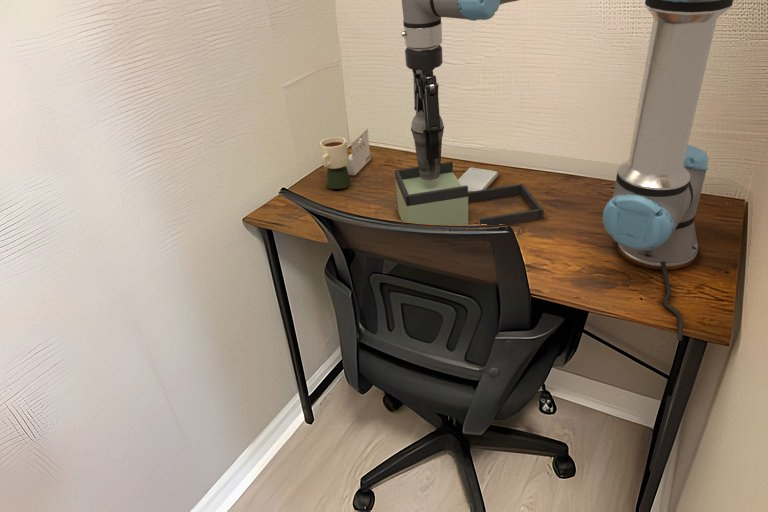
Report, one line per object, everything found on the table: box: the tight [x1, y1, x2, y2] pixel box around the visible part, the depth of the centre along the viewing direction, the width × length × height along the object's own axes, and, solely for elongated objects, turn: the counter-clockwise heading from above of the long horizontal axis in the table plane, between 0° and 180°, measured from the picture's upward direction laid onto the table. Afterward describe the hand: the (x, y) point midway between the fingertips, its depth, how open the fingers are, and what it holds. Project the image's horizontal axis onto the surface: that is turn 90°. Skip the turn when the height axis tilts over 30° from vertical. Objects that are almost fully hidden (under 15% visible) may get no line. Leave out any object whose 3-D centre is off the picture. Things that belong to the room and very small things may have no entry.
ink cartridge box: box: [346, 128, 372, 176], centre depth 168 cm, size 2×11×10 cm, turn 157°
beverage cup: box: [410, 110, 445, 180], centre depth 130 cm, size 7×7×20 cm
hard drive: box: [457, 166, 499, 192], centre depth 155 cm, size 2×8×12 cm
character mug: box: [319, 136, 351, 190], centre depth 158 cm, size 11×7×13 cm, turn 152°
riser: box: [394, 161, 545, 226], centre depth 140 cm, size 14×32×12 cm, turn 99°
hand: (428, 151), depth 132 cm, fingers closed on beverage cup, 7 cm apart
